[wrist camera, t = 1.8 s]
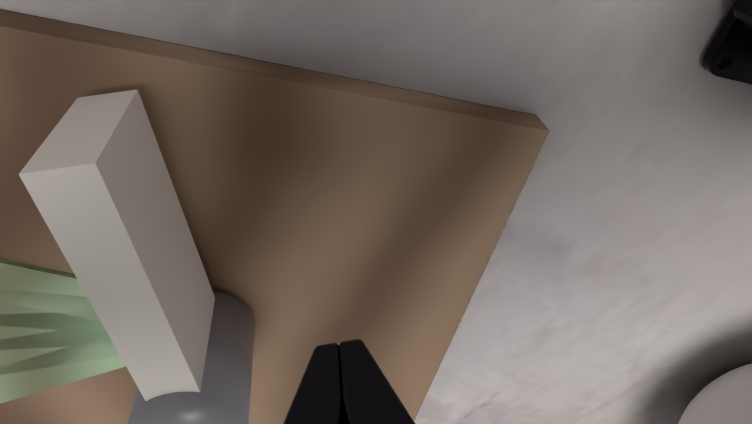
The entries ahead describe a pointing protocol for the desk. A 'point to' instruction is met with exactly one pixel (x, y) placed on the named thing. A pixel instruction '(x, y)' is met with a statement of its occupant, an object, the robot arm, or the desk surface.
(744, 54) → the robot arm
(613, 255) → the desk surface
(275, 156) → the brown wooden board
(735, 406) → the decorative ball
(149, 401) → the pointer
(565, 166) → the desk surface
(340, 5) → the desk surface
